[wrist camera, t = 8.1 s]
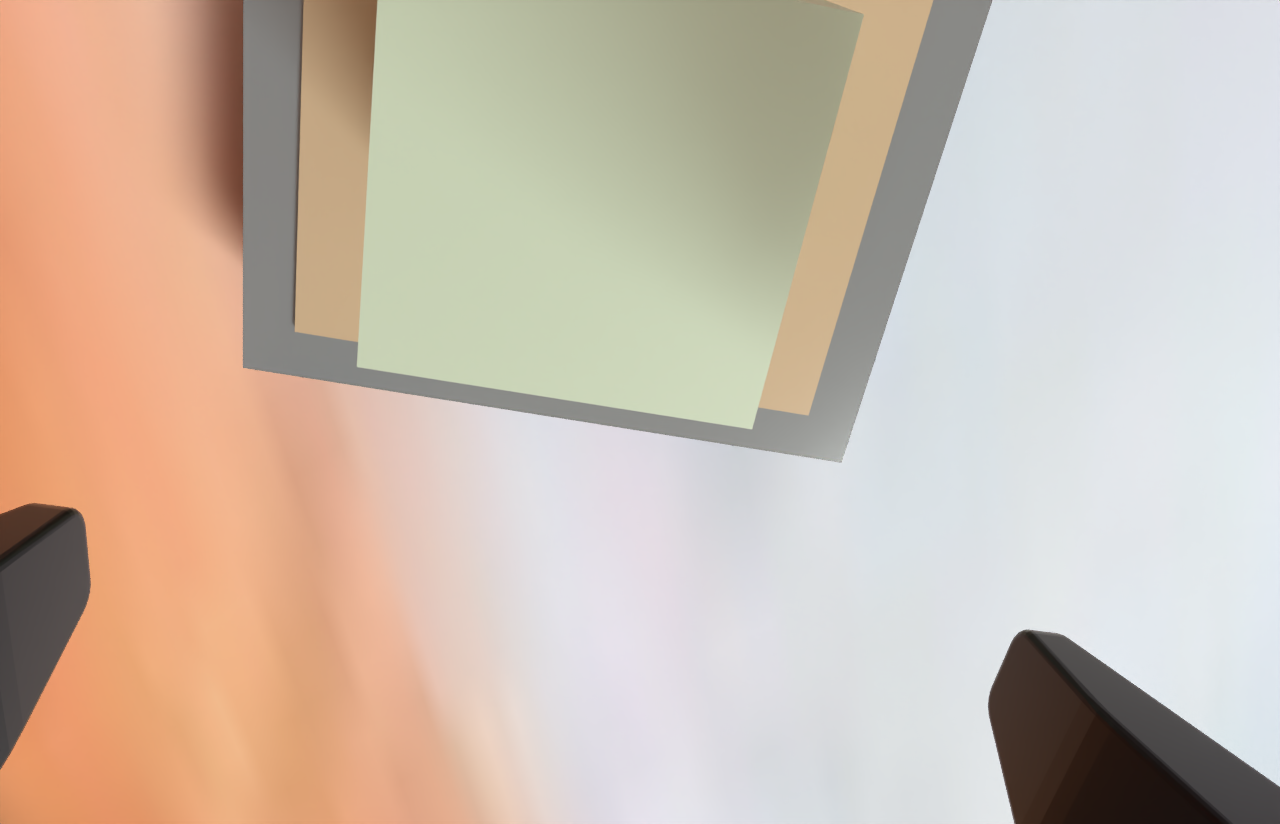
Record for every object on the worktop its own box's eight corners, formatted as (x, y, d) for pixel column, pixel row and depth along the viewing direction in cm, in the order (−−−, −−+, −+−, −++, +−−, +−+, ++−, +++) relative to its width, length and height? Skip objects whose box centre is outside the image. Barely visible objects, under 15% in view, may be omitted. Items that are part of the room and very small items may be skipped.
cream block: (712, 276, 18) (752, 429, 12) (440, 229, 17) (356, 367, 12) (779, -17, 15) (863, 13, 10) (468, -80, 15) (382, -85, 9)
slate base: (814, 398, 22) (843, 465, 19) (291, 311, 21) (240, 370, 18) (995, -200, 17) (1069, -224, 14) (308, -360, 16) (239, -422, 13)
